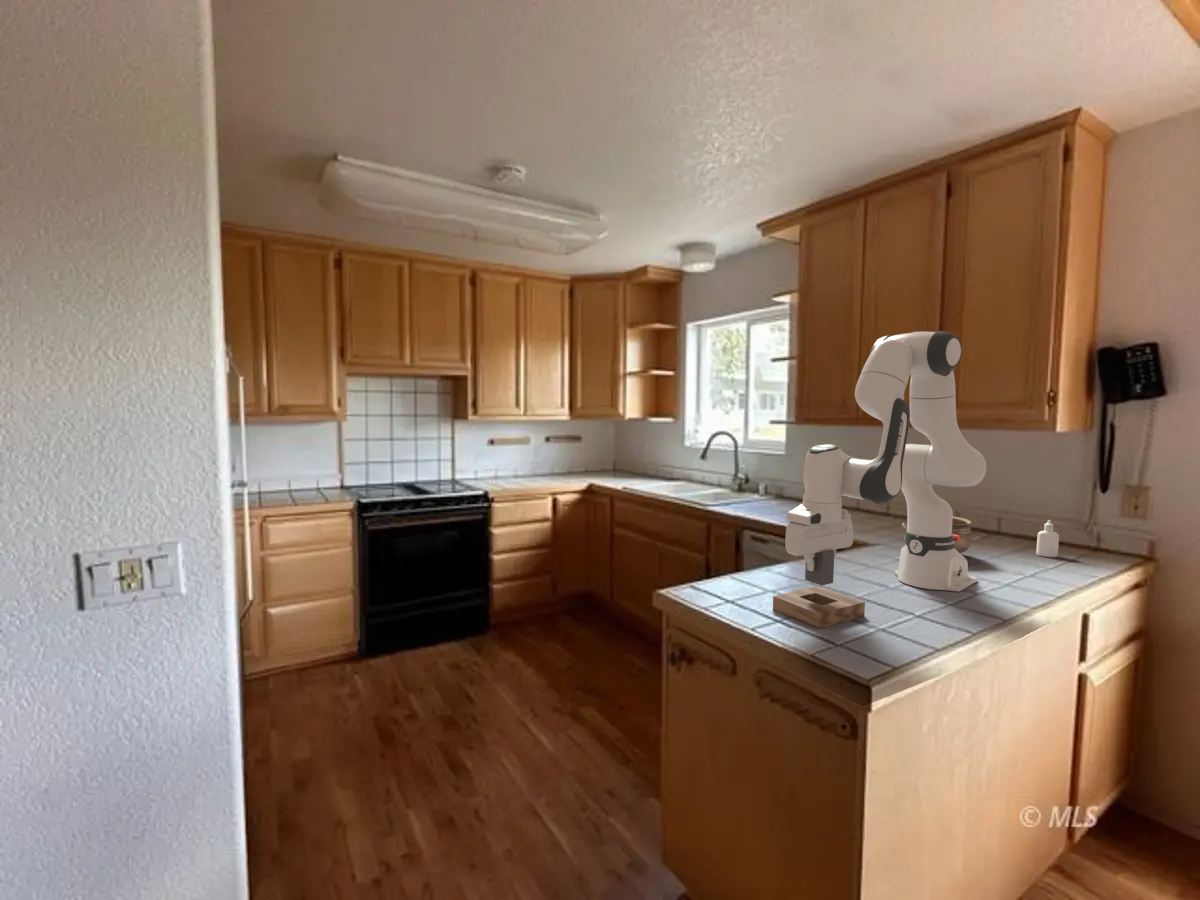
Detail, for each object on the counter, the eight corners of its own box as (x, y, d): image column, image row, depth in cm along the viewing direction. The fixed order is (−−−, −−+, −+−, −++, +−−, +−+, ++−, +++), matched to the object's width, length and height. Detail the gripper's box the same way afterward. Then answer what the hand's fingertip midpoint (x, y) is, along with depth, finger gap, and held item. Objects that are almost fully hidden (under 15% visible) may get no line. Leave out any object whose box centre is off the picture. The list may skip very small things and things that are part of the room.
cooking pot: (993, 559, 195) (995, 522, 193) (963, 569, 184) (966, 530, 183) (916, 543, 215) (917, 510, 214) (886, 551, 205) (887, 516, 204)
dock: (817, 598, 157) (817, 585, 157) (864, 616, 145) (864, 601, 145) (772, 609, 149) (773, 596, 149) (818, 628, 137) (819, 613, 137)
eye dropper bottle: (1037, 553, 203) (1040, 517, 202) (1058, 556, 199) (1061, 520, 198) (1035, 555, 200) (1037, 519, 199) (1056, 558, 196) (1058, 522, 195)
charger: (816, 577, 150) (817, 544, 149) (833, 583, 145) (834, 549, 145) (805, 579, 148) (806, 546, 147) (821, 585, 143) (823, 551, 143)
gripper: (839, 506, 153) (837, 560, 154) (781, 514, 143) (779, 571, 144) (861, 510, 148) (858, 566, 149) (802, 518, 137) (800, 578, 139)
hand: (819, 568), depth 146 cm, fingers closed on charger, 4 cm apart
